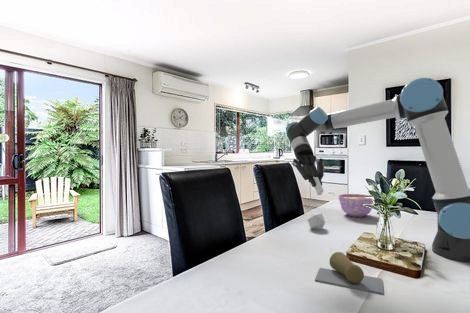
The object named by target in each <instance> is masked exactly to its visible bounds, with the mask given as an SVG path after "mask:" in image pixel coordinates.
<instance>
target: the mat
mask: <svg viewBox="0 0 470 313" xmlns="http://www.w3.org/2000/svg"><path fill="white" fill-rule="evenodd" d="M314 282H319V283H324V284H330V285H334V286H339V287H345V288H349V289H355V290H360V291H365V292H370V293H373V294H379V295H383V296H384V286H383V279H382V277H381V278H380V277H375V276H369V275H364V278H363V280H362V281H361V282H360V283H357V284H354V283H351V282H349V281H348V280H347V278H346V277H345V275H343V274H341V273H339V272H338V271H336V270H334V269H329V268H324V267H319V269H318V271H317V274H316V275H315V279H314Z"/></svg>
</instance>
